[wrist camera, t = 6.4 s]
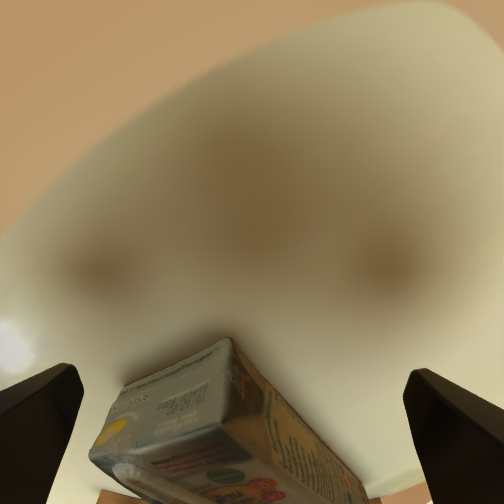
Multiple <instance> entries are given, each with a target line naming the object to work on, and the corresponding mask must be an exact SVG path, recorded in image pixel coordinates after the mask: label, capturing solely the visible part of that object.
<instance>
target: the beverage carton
mask: <svg viewBox="0 0 504 504" xmlns="http://www.w3.org/2000/svg"><path fill="white" fill-rule="evenodd" d="M88 456H89V459H90V461H91V462H92V463H94V464H95V465H96V466H97V467H98V468H99V469H101V470H102V471H103V472H104V473H106V474H107V475H108V476H110V477H112V478H113V479H114V480H115V481H116V482H118V483H119V484H120V485H122V486H123V487H125V488H126V489H128V490H129V491H131V492H133V493H134V494H136V495H137V496H139V497H140V498H142V499H143V500H144V501H146V502H147V503H149V504H370V503H369V501H368V497H367V494H366V491H365V489H364V487H363V486H362V485H361V483H360V482H359V481H358V480H357V479H356V478H355V476H354V475H353V474H352V473H351V472H350V471H349V470H348V469H347V468H346V467H345V466H344V465H343V464H342V463H341V462H340V461H339V460H338V459H337V458H336V457H335V456H334V454H332V453H331V452H330V451H329V449H328V448H327V447H326V446H325V445H324V444H323V443H322V442H321V441H320V440H319V439H318V438H317V437H316V436H315V435H314V433H313V432H312V431H311V430H310V429H309V428H308V427H307V426H306V425H305V424H304V422H303V421H302V420H301V419H300V418H299V417H298V416H297V415H296V413H295V412H294V411H293V410H292V409H291V408H290V407H289V406H288V404H287V403H286V402H285V401H284V400H283V399H282V398H281V396H280V395H279V394H278V393H277V392H276V391H275V390H274V389H273V387H272V386H271V385H270V384H269V383H268V382H267V381H266V380H265V379H264V378H263V377H262V376H261V375H260V374H259V373H258V372H257V370H256V369H255V368H254V367H253V365H252V364H251V363H250V362H249V361H248V359H247V358H246V357H245V356H244V355H243V353H242V352H241V351H240V350H239V348H238V347H237V346H236V344H235V343H234V342H233V340H232V339H231V338H224V339H221V340H220V341H218V342H216V343H215V344H213V345H211V346H210V347H208V348H206V349H204V350H202V351H200V352H198V353H197V354H195V355H193V356H191V357H189V358H187V359H185V360H182V361H180V362H178V363H176V364H174V365H172V366H170V367H167V368H165V369H163V370H161V371H159V372H156V373H154V374H152V375H150V376H148V377H146V378H143V379H140V380H138V381H136V382H133V383H131V384H129V385H128V386H126V387H124V388H123V389H122V390H121V392H120V394H119V396H118V398H117V400H116V401H115V402H114V403H113V404H112V406H111V408H110V411H109V413H108V416H107V418H106V421H105V424H104V426H103V428H102V431H101V432H100V434H99V436H98V437H97V439H96V440H95V442H94V444H93V446H92V448H91V449H90V450H89V454H88Z"/></svg>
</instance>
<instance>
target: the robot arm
mask: <svg viewBox="0 0 504 504" xmlns="http://www.w3.org/2000/svg"><path fill="white" fill-rule="evenodd" d="M83 395H84V387H83V384H82V382H81V379H80V376H79V374H78V371H77V369H76V367H75V366H74V365H72V364H67V363H60V364H58V365H56V366H53V367H51V368H49V369H47V370H45V371H43V372H41V373H39V374H37V375H34V376H32V377H30V378H28V379H26V380H24V381H22V382H19V383H17V384H15V385H13V386H11V387H9V388H6V389H4V390H2V391H0V504H46V502H47V499H48V496H49V493H50V490H51V487H52V485H53V482H54V479H55V476H56V474H57V471H58V468H59V466H60V463H61V460H62V458H63V455H64V453H65V450H66V448H67V445H68V443H69V440H70V437H71V434H72V431H73V428H74V425H75V421H76V418H77V415H78V411H79V408H80V405H81V402H82V399H83ZM403 402H404V406H405V410H406V413H407V417H408V421H409V426H410V430H411V434H412V438H413V442H414V446H415V449H416V452H417V455H418V458H419V461H420V463H421V466H422V469H423V472H424V475H425V478H426V482H427V485H428V488H429V491H430V494H431V497H432V501H433V504H504V410H503V409H502V408H500V407H498V406H496V405H494V404H492V403H490V402H488V401H486V400H484V399H483V398H481V397H479V396H477V395H475V394H473V393H471V392H469V391H468V390H466V389H464V388H462V387H460V386H458V385H456V384H455V383H453V382H451V381H449V380H447V379H445V378H443V377H442V376H440V375H438V374H436V373H434V372H432V371H431V370H429V369H427V368H421V369H416V370H413V371H412V372H411V373H410V376H409V378H408V381H407V384H406V387H405V390H404V393H403Z"/></svg>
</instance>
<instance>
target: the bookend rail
mask: <svg viewBox="0 0 504 504" xmlns="http://www.w3.org/2000/svg"><path fill="white" fill-rule="evenodd" d="M368 501H369V503H370V504H382V503H381V500H380V498H376V499H372V500H368ZM96 504H149V503H147V502H146V501H144V500H141V499H137V498H132V497H128V496H124V495H120V494H116V493H113V492H109V491H106V490H101V493H100V495H99V498H98V500H97V503H96Z"/></svg>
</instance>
